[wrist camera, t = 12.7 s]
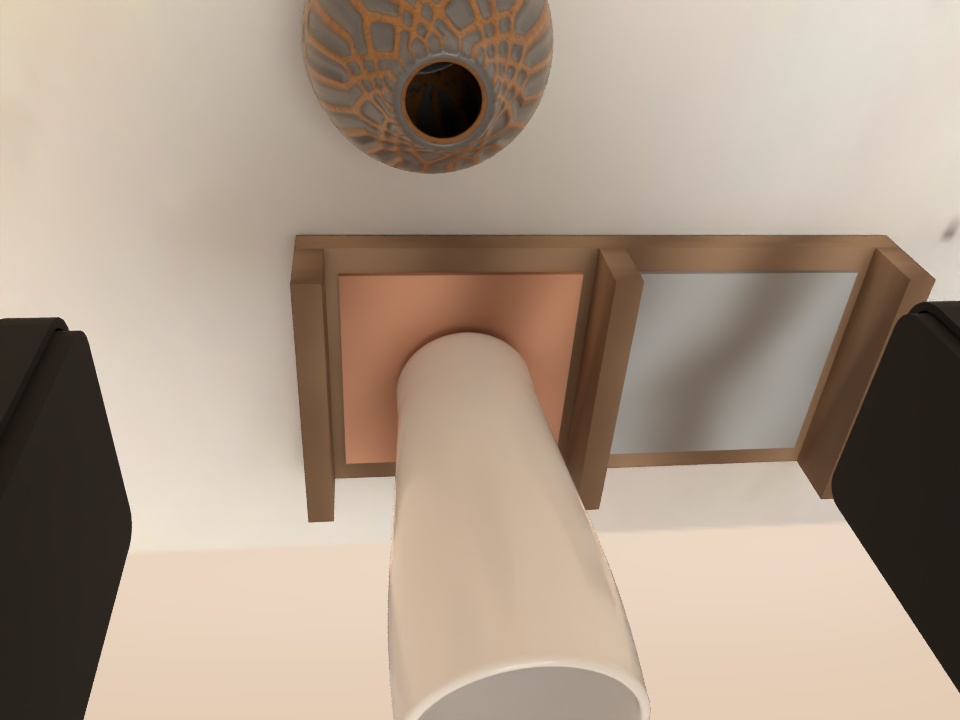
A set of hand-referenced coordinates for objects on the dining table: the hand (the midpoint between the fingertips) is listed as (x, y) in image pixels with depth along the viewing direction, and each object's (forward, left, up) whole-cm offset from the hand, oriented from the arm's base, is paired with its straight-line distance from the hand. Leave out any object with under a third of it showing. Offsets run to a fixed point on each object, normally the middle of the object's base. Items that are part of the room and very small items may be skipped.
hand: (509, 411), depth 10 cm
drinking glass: (-12, +6, -19) cm, 24 cm away
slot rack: (-15, +2, -20) cm, 25 cm away
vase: (0, 0, -21) cm, 21 cm away
